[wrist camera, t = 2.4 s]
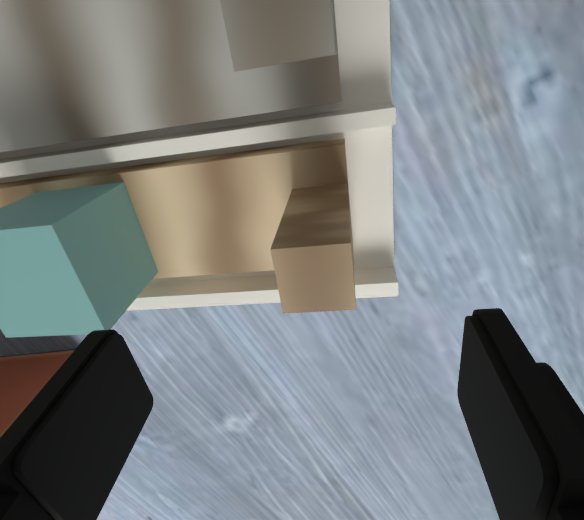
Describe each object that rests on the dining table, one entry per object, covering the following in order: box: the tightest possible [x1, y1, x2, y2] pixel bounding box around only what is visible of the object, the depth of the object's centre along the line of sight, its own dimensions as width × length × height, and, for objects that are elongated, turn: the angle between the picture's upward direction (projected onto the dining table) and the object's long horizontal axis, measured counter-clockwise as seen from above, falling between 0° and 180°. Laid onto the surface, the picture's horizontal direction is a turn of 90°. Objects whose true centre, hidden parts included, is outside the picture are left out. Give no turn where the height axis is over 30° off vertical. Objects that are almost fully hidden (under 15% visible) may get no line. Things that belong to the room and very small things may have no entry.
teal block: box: [0, 182, 158, 338], centre depth 20 cm, size 6×6×6 cm
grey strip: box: [0, 0, 342, 152], centre depth 16 cm, size 26×7×9 cm, turn 99°
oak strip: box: [0, 138, 356, 313], centre depth 20 cm, size 26×7×9 cm, turn 99°
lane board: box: [0, 0, 398, 311], centre depth 22 cm, size 32×21×3 cm, turn 99°
